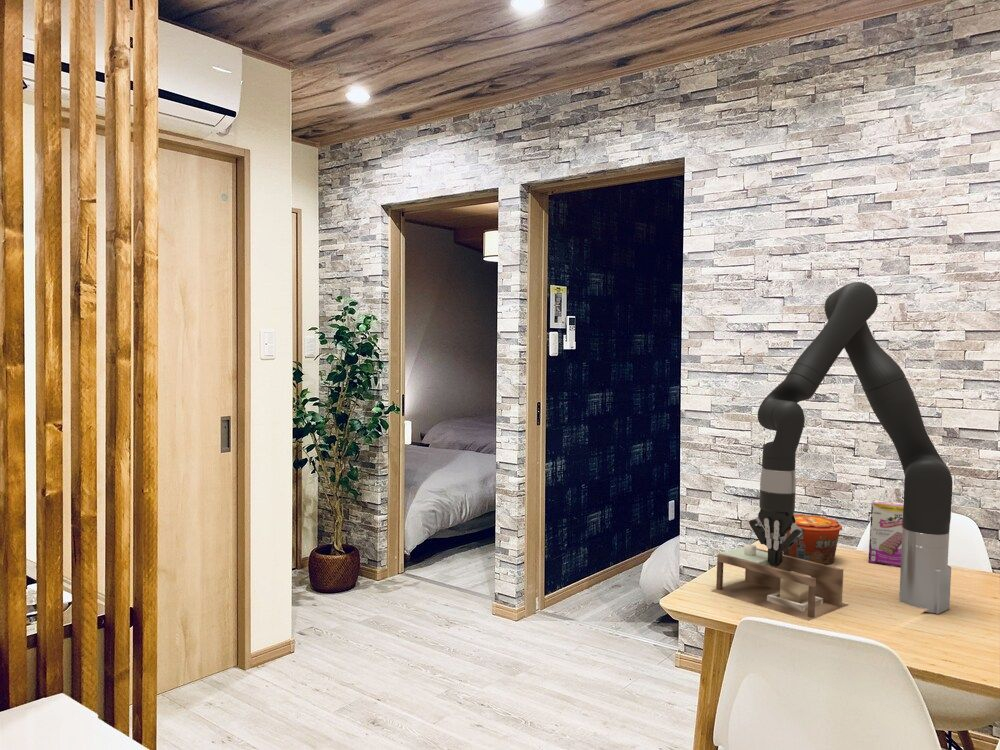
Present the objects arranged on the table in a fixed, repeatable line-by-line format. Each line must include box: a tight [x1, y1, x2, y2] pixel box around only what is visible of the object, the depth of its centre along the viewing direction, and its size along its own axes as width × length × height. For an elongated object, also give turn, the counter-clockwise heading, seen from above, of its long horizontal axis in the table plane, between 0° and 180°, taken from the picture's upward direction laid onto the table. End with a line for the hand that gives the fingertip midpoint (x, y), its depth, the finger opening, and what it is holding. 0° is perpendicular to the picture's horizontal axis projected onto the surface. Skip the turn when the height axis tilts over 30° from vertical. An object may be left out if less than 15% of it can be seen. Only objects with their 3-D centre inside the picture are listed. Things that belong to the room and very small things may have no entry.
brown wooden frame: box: [711, 547, 850, 622], centre depth 179 cm, size 24×17×9 cm
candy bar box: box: [868, 499, 904, 567], centre depth 212 cm, size 11×5×16 cm, turn 59°
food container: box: [783, 513, 843, 566], centre depth 216 cm, size 16×16×11 cm
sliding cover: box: [718, 543, 771, 566], centre depth 184 cm, size 10×10×4 cm
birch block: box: [780, 571, 811, 604], centre depth 176 cm, size 5×5×6 cm
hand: (774, 565), depth 179 cm, fingers closed
